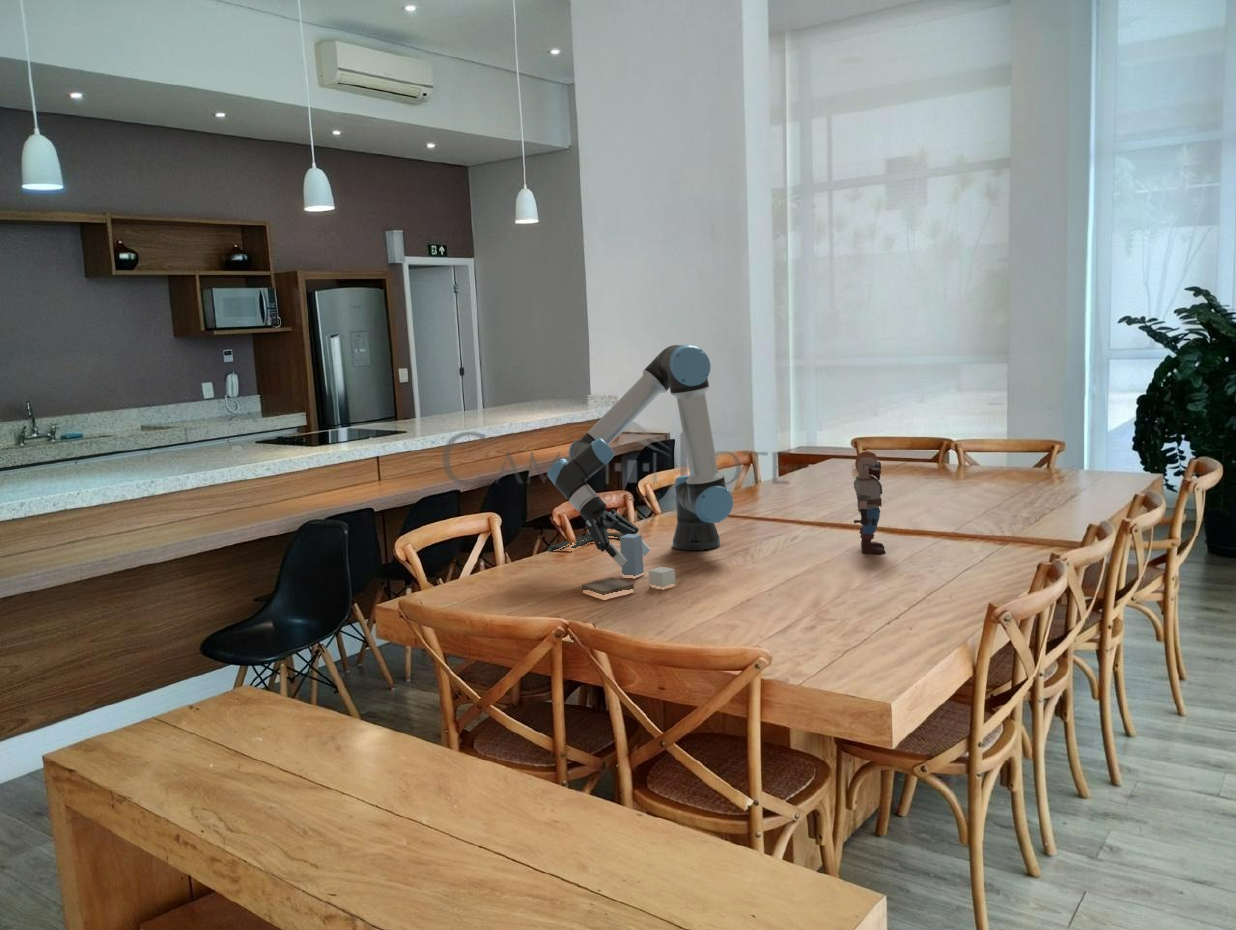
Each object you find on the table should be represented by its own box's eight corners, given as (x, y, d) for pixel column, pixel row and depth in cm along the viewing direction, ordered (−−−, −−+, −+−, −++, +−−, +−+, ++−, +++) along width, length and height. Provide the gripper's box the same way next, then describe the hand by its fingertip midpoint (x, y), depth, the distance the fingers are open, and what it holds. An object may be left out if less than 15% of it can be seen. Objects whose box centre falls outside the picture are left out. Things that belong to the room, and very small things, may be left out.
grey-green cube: (661, 584, 272) (661, 566, 271) (675, 586, 269) (674, 568, 268) (649, 588, 269) (648, 570, 268) (663, 591, 265) (662, 573, 264)
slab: (612, 588, 273) (611, 577, 272) (634, 594, 264) (633, 583, 264) (582, 595, 267) (581, 584, 266) (603, 602, 259) (602, 591, 258)
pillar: (630, 574, 284) (627, 533, 283) (643, 575, 282) (641, 534, 280) (622, 578, 281) (619, 537, 279) (636, 579, 278) (633, 538, 277)
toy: (887, 559, 284) (885, 456, 280) (854, 559, 286) (852, 457, 282) (882, 541, 306) (880, 446, 301) (852, 542, 307) (849, 447, 303)
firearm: (582, 549, 312) (545, 546, 321) (582, 556, 313) (546, 552, 321) (632, 531, 335) (596, 527, 344) (632, 537, 336) (596, 534, 344)
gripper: (603, 504, 298) (649, 556, 292) (557, 521, 276) (605, 577, 271) (617, 488, 294) (664, 540, 289) (571, 503, 273) (621, 560, 267)
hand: (636, 558), depth 280 cm, fingers open, 13 cm apart
